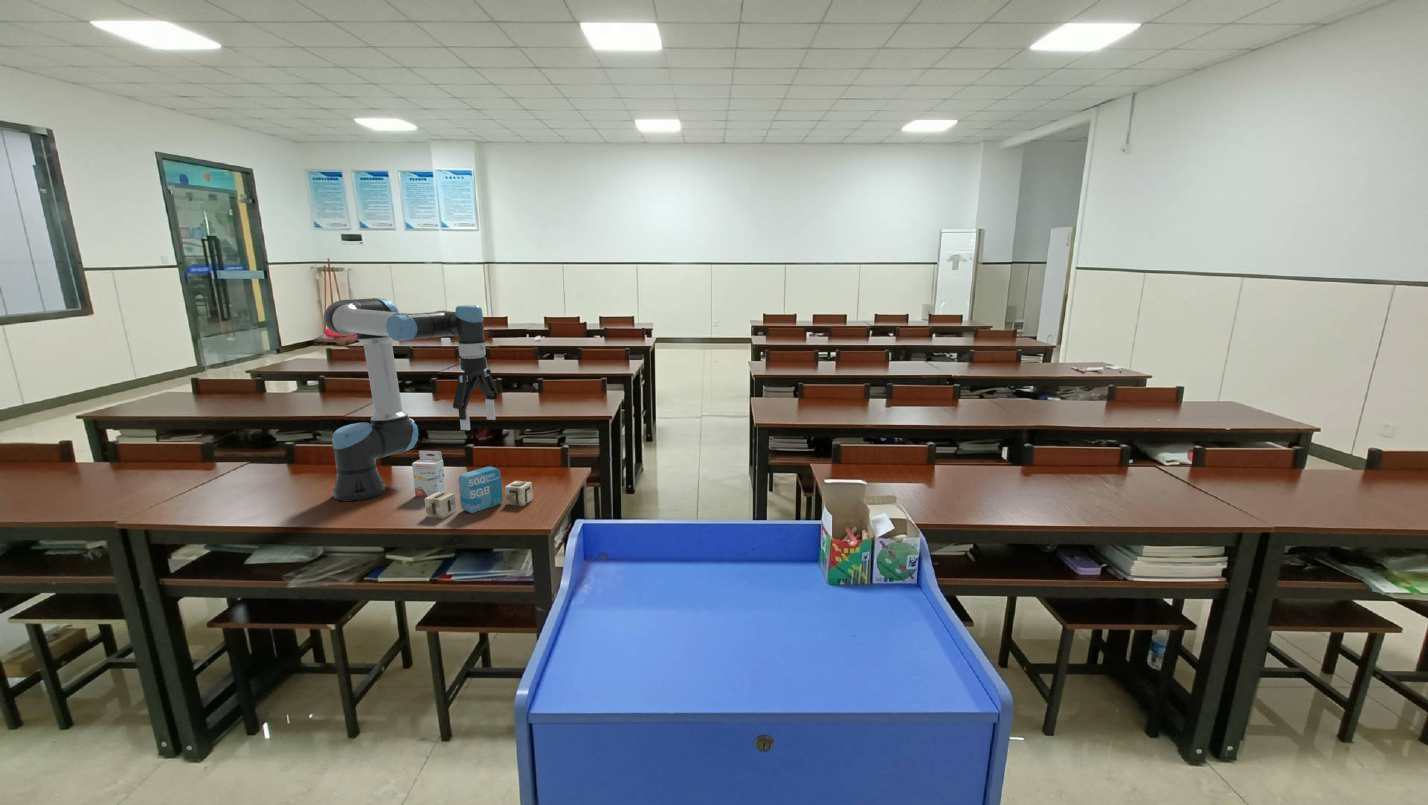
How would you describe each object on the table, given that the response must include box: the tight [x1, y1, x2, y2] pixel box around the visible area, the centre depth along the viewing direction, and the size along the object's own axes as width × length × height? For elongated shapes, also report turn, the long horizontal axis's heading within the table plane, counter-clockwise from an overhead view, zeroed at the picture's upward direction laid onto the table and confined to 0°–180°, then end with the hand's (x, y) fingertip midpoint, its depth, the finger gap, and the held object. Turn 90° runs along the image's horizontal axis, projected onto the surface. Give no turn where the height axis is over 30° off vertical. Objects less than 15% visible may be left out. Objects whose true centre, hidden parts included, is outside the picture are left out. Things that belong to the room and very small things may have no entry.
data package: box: [458, 466, 504, 514], centre depth 196 cm, size 12×4×12 cm, turn 141°
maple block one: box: [424, 492, 457, 520], centre depth 191 cm, size 6×6×6 cm
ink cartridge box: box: [411, 450, 447, 498], centre depth 207 cm, size 9×5×15 cm, turn 84°
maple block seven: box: [504, 480, 534, 507], centre depth 201 cm, size 6×6×6 cm
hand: (478, 424), depth 193 cm, fingers open, 13 cm apart
